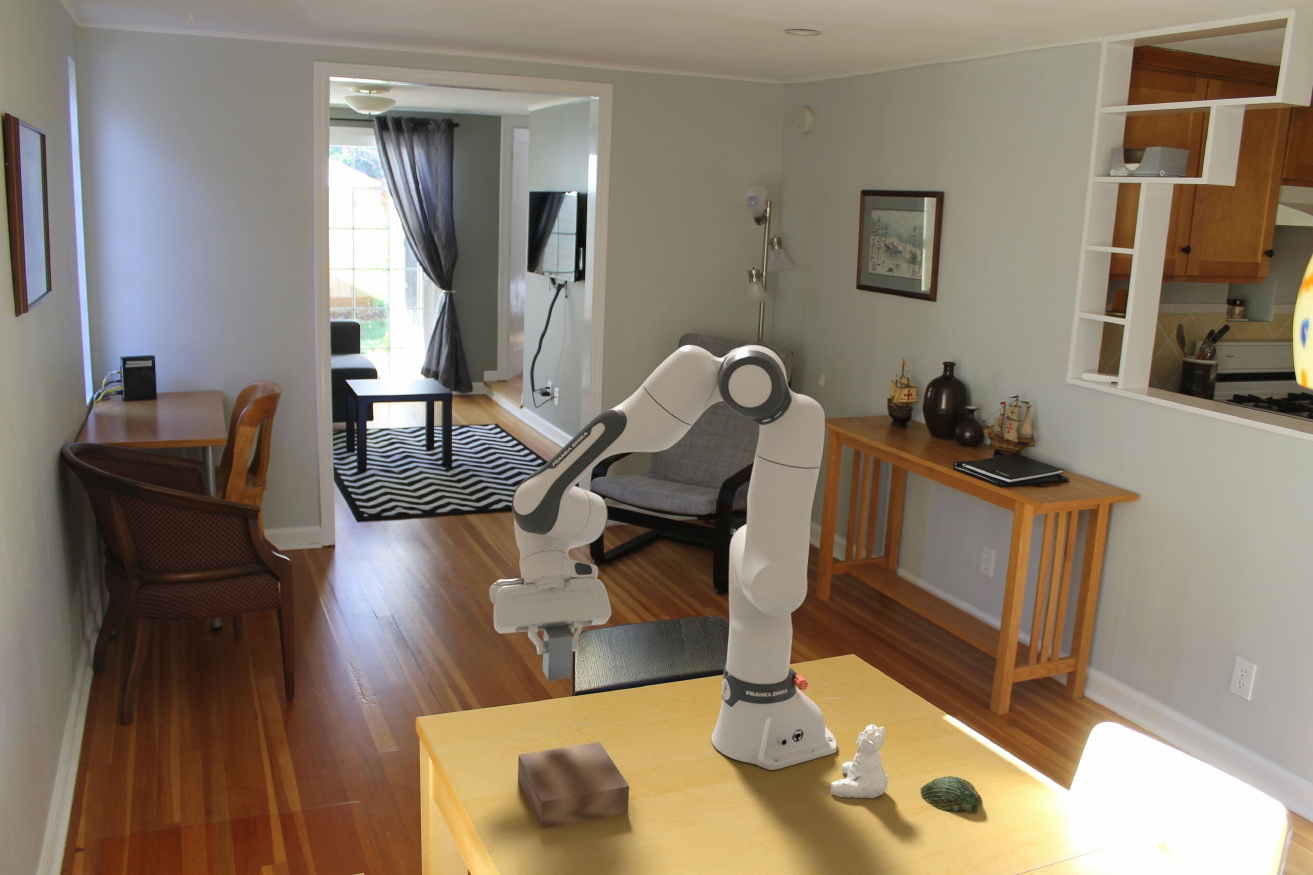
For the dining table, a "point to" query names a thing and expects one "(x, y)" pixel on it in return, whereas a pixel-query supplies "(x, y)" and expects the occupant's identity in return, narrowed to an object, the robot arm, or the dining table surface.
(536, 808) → the walnut block
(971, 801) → the seashell
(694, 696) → the dining table surface
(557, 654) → the grey tin
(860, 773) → the seated beast figurine
